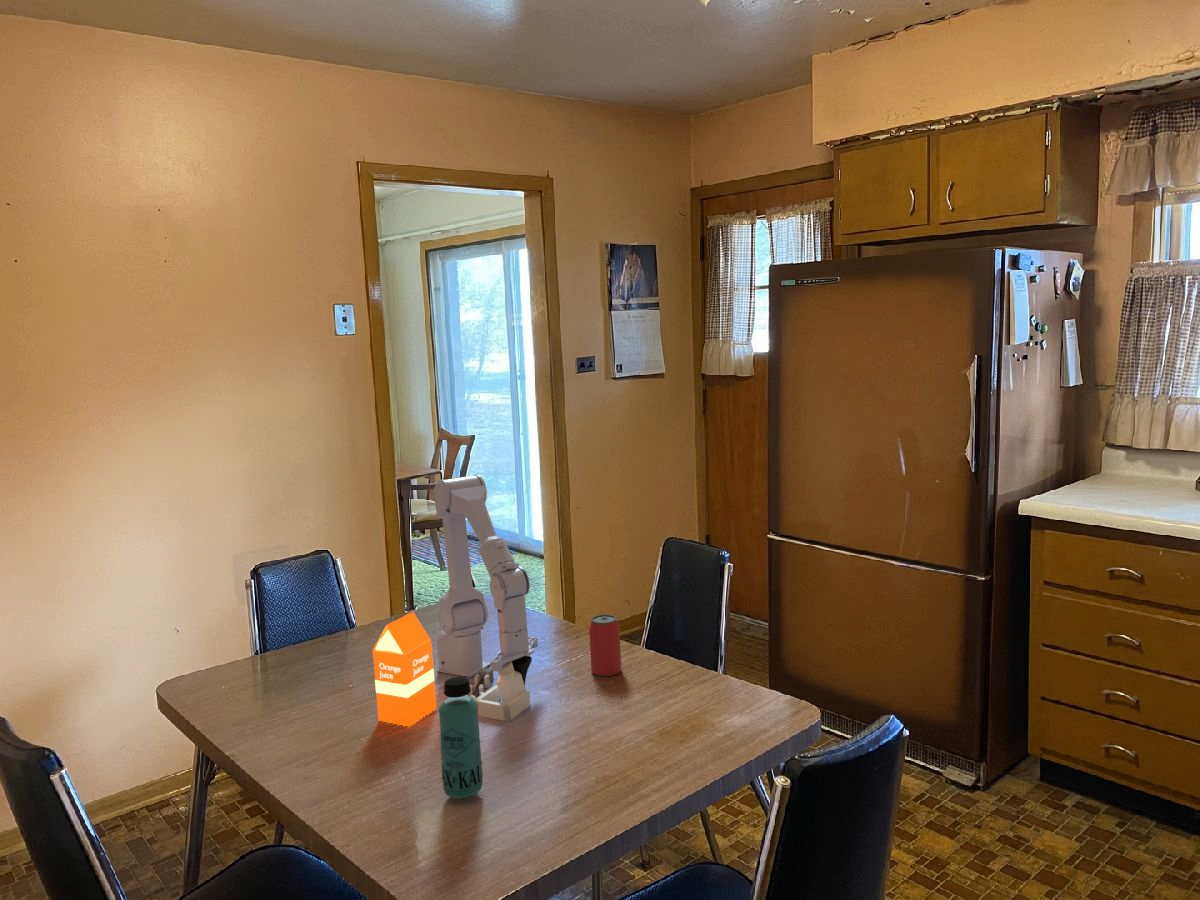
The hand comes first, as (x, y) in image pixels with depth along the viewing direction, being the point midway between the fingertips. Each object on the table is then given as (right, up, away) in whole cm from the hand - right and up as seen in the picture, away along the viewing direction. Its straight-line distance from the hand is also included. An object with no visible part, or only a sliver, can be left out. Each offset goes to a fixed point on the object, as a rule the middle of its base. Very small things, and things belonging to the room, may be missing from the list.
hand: (518, 692), depth 178 cm
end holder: (-3, -2, -4) cm, 5 cm away
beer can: (+18, +1, +13) cm, 22 cm away
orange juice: (-22, -4, -4) cm, 22 cm away
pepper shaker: (0, -2, -1) cm, 2 cm away
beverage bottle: (-5, -7, -36) cm, 37 cm away
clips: (-8, -2, +3) cm, 9 cm away
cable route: (-8, -1, +5) cm, 9 cm away
